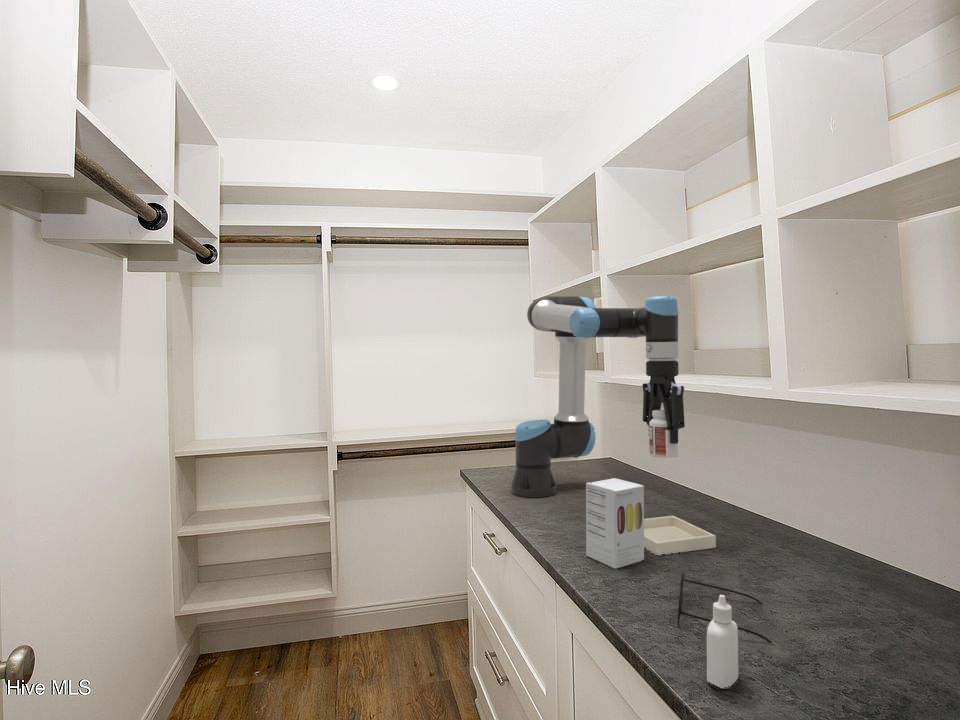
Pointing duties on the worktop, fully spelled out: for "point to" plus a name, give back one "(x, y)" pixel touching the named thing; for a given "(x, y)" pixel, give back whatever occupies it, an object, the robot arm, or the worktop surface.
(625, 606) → the worktop surface
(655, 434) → the pill bottle
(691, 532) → the tray
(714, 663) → the eye dropper bottle
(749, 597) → the glasses
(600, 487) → the supplement box
